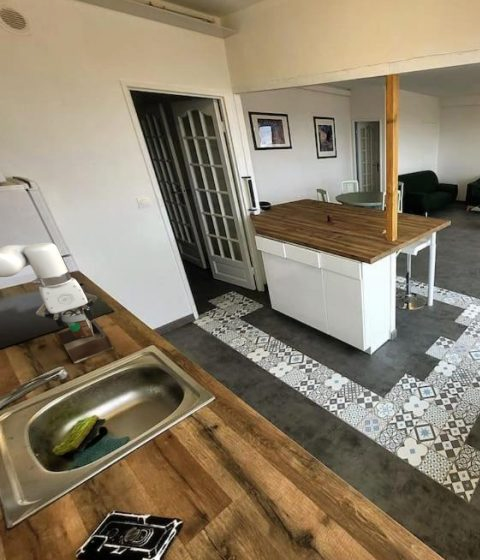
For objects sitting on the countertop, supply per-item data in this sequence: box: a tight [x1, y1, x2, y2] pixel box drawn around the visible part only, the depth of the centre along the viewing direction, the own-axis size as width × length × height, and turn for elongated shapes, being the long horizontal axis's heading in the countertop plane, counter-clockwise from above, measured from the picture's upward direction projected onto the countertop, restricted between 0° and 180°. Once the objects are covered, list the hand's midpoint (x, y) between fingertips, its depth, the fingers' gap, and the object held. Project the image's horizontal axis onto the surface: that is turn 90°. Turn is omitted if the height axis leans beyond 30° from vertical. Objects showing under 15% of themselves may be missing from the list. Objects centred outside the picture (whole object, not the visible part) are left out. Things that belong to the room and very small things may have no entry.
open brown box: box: [57, 320, 114, 364], centre depth 117 cm, size 11×17×6 cm, turn 53°
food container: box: [60, 306, 94, 339], centre depth 113 cm, size 12×6×10 cm, turn 45°
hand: (76, 322), depth 113 cm, fingers closed on food container, 6 cm apart
